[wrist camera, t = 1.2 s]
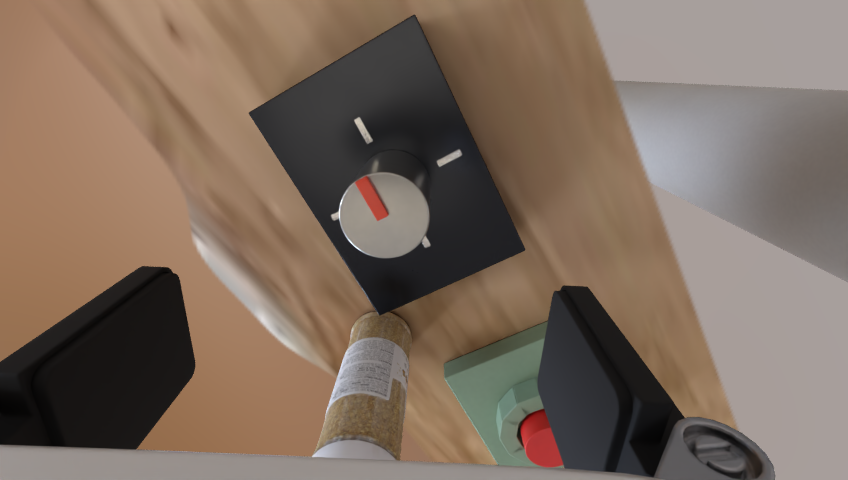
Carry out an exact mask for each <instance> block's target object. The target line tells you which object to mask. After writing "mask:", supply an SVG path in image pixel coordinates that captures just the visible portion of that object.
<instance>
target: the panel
mask: <svg viewBox="0 0 848 480" xmlns="http://www.w3.org/2000/svg"><path fill="white" fill-rule="evenodd" d="M249 115H250V116H251V118H252V119H253V121H254V122H255V124H256V125H257V127H258V128H259V130H260V132H261V133H262V135H263V136H264V138H265V139H266V141H267V142H268V144H269V146H270V147H271V149H272V150H273V152H274V153H275V155H276V156H277V158H278V159H279V161H280V163H281V164H282V166H283V167H284V169H285V170H286V172H287V173H288V175H289V177H290V178H291V180H292V181H293V183H294V184H295V186H296V187H297V189H298V190H299V192H300V194H301V195H302V197H303V198H304V200H305V201H306V203H307V204H308V206H309V208H310V209H311V211H312V212H313V214H314V215H315V217H316V218H317V220H318V221H319V223H320V225H321V226H322V228H323V229H324V231H325V232H326V234H327V235H328V237H329V238H330V240H331V242H332V243H333V245H334V246H335V248H336V249H337V251H338V252H339V254H340V256H341V257H342V259H343V260H344V262H345V263H346V265H347V266H348V268H349V269H350V271H351V273H352V274H353V276H354V277H355V279H356V280H357V282H358V283H359V285H360V287H361V288H362V290H363V291H364V293H365V294H366V296H367V297H368V299H369V300H370V302H371V304H372V305H373V307H374V308H375V310H376V311H377V313H378V314H379V316H380V315H383V314H385V313H387V312H389V311H392V310H394V309H396V308H398V307H400V306H403V305H405V304H407V303H409V302H412V301H414V300H416V299H418V298H420V297H423V296H425V295H427V294H429V293H432V292H434V291H436V290H438V289H440V288H443V287H445V286H447V285H449V284H452V283H454V282H456V281H458V280H460V279H463V278H465V277H467V276H469V275H472V274H474V273H476V272H478V271H480V270H483V269H485V268H487V267H489V266H492V265H494V264H496V263H498V262H500V261H503V260H505V259H507V258H509V257H512V256H514V255H516V254H518V253H521V252H523V251H525V248H524V245H523V243H522V241H521V239H520V237H519V235H518V233H517V231H516V228H515V226H514V224H513V222H512V220H511V218H510V216H509V214H508V211H507V209H506V207H505V205H504V203H503V201H502V199H501V196H500V194H499V192H498V190H497V188H496V186H495V184H494V182H493V179H492V177H491V175H490V173H489V171H488V169H487V167H486V165H485V162H484V160H483V158H482V156H481V154H480V152H479V150H478V147H477V145H476V143H475V141H474V139H473V137H472V135H471V133H470V130H469V128H468V126H467V124H466V122H465V120H464V118H463V116H462V113H461V111H460V109H459V107H458V105H457V103H456V101H455V98H454V96H453V94H452V92H451V90H450V88H449V86H448V84H447V81H446V79H445V77H444V75H443V73H442V71H441V69H440V67H439V64H438V62H437V60H436V58H435V56H434V54H433V52H432V49H431V47H430V45H429V43H428V41H427V39H426V37H425V35H424V32H423V30H422V28H421V26H420V24H419V22H418V20H417V17H416V15H413V16H411V17H409V18H407V19H406V20H404V21H402V22H401V23H399V24H397V25H396V26H394V27H392V28H391V29H389V30H387V31H386V32H384V33H382V34H380V35H379V36H377V37H375V38H374V39H372V40H370V41H369V42H367V43H365V44H364V45H362V46H360V47H359V48H357V49H355V50H353V51H352V52H350V53H348V54H347V55H345V56H343V57H342V58H340V59H338V60H337V61H335V62H333V63H332V64H330V65H328V66H327V67H325V68H323V69H321V70H320V71H318V72H316V73H315V74H313V75H311V76H310V77H308V78H306V79H305V80H303V81H301V82H300V83H298V84H296V85H294V86H293V87H291V88H289V89H288V90H286V91H284V92H283V93H281V94H279V95H278V96H276V97H274V98H273V99H271V100H269V101H268V102H266V103H264V104H262V105H261V106H259V107H257V108H256V109H254V110H252V111H251V112H249ZM388 150H399V151H404V152H406V153H409V154H411V155H413V156H414V157H416V158H417V159H418V160H419V161H420V162H421V163H422V164H423V165H424V167H425V169H426V170H427V173H428V175H429V178H430V222H429V227H428V230H427V233H426V235H425V237H424V239H423V240H422V241H421V243H420V244H419V245H418V246H417V247H416V248H415V249H413V250H412V251H410V252H409V253H407V254H404V255H402V256H399V257H395V258H378V257H373V256H370V255H367V254H365V253H363V252H362V251H360V250H358V249H357V248H356V247H355V246H353V245H352V243H351V242H350V241H349V240H348V239H347V237H346V236H345V234H344V232H343V230H342V228H341V225H340V220H339V207H340V202H341V199H342V197H343V195H344V193H345V191H346V190H347V188H348V187H349V185H350V184H351V183H352V181H353V180H354V179H355V177H356V176H357V175H358V173H359V172H360V170H361V169H362V168H363V166H364V165H365V164H366V162H367V161H368V160H369V159H370V158H372V157H373V156H374V155H376V154H378V153H380V152H383V151H388Z"/></svg>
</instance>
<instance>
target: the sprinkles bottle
mask: <svg viewBox="0 0 848 480" xmlns="http://www.w3.org/2000/svg"><path fill="white" fill-rule="evenodd" d="M350 337H351V340H350V343H349V346H348V350H347V351H346V353H345V355H344V358H343V361H342V365H341V368H340V371H339V374H338V377H337V380H336V383H335V387H334V390H333V392H332V396H331V399H330V402H329V405H328V408H327V411H326V415H325V422H324V426H323V429H322V433H321V436H320V439H319V442H318V445H317V448H316V450H315V452H314V454H313V455H312V457H328V458H352V459H376V460H400V452H401V441H402V432H403V423H404V418H405V409H406V397H407V386H408V374H409V352H410V348H411V344H412V335H411V331H410V328H409V326H408V325H407V324H406V322H405V321H404V320H402V319H401V318H400V317H398V316H397V315H395V314H392V313H390V312H387V313H385V314H383V315H380V316H379V314H378V313H377V311H375V312H370V313H367V314H365V315H363V316H362V317H360V318H359V319H358V320H357V321H356V322H355V324H354V325H353V327H352V330H351V336H350Z"/></svg>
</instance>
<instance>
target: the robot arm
mask: <svg viewBox="0 0 848 480" xmlns="http://www.w3.org/2000/svg"><path fill="white" fill-rule="evenodd" d="M194 370H195V358H194V353H193V348H192V343H191V337H190V332H189V327H188V321H187V316H186V311H185V306H184V300H183V295H182V290H181V284H180V280H179V277H178V275H177V274H174V273H173V272H172V271H171V269H169V268H167V267H148V266H142V267H140V268H138V269H137V270H135V271H134V272H132V273H131V274H129V275H128V276H126V277H125V278H124V279H122V280H121V281H119V282H118V283H116V284H114V285H113V286H112V287H110V288H109V289H107V290H106V291H104V292H103V293H101V294H100V295H98V296H97V297H95V298H94V299H92V300H91V301H90V302H88V303H86V304H85V305H83V306H82V307H81V308H79V309H78V310H76V311H75V312H73V313H72V314H70V315H69V316H67V317H66V318H64V319H63V320H61V321H60V322H58V323H57V324H55V325H54V326H53V327H51V328H50V329H48V330H47V331H45V332H44V333H42V334H41V335H39V336H38V337H36V338H35V339H33V340H32V341H30V342H29V343H27V344H26V345H24V346H23V347H21V348H20V349H19V350H17V351H16V352H14V353H13V354H11V355H10V356H8V357H7V358H5V359H4V360H2V361H1V362H0V480H775V472H774V467H773V464H772V463H771V461H770V460H769V458H768V456H767V455H766V454H765V452H763V450H762V449H760V448H759V446H758V445H757V444H756V443H754V442H753V441H752V440H750V439H749V438H748V437H746V436H745V435H744V434H742V433H741V432H739V431H737V430H735V429H733V428H731V427H729V426H728V425H725V424H722V423H720V422H717V421H714V420H711V419H706V418H701V417H687V418H684V416H683V415H682V414H681V412H680V411H679V409H678V408H677V407H676V405H675V404H674V402H673V401H672V399H671V398H670V397H669V395H668V394H667V393H666V391H665V390H664V389H663V387H662V386H661V385H660V383H659V382H658V381H657V379H656V378H655V377H654V375H653V374H652V373H651V371H650V370H649V369H648V367H647V366H646V364H645V363H644V362H643V360H642V359H641V358H640V356H639V355H638V354H637V352H636V351H635V350H634V348H633V347H632V346H631V344H630V343H629V342H628V340H627V339H626V338H625V336H624V335H623V334H622V332H621V331H620V330H619V328H618V327H617V326H616V324H615V323H614V322H613V320H612V319H611V318H610V316H609V315H608V313H607V312H606V311H605V309H604V308H603V307H602V305H601V304H600V303H599V301H598V300H597V299H596V297H595V296H594V295H593V293H592V292H591V291H590V289H589V288H588V287H583V286H563V287H562V288H561V290H560V291H555V292H554V293H553V297H552V302H551V307H550V313H549V318H548V324H547V329H546V335H545V340H544V345H543V351H542V356H541V362H540V367H539V373H538V379H537V386H538V392H539V395H540V398H541V401H542V404H543V407H544V410H545V413H546V416H547V418H548V421H549V424H550V427H551V430H552V433H553V436H554V439H555V442H556V444H557V447H558V450H559V453H560V456H561V459H562V462H563V465H564V468H550V467H529V466H508V465H486V464H465V463H444V462H423V461H400V460H376V459H352V458H328V457H303V456H278V455H256V454H254V455H253V454H231V453H230V454H229V453H208V452H184V451H183V452H182V451H159V450H136V449H137V448H138V446H139V445H140V444H141V442H142V441H143V440H144V438H145V437H146V436H147V435H148V433H149V432H150V431H151V429H152V428H153V427H154V426H155V424H156V423H157V422H158V420H159V419H160V418H161V416H162V415H163V414H164V412H165V411H166V410H167V409H168V408H169V406H170V405H171V403H172V402H173V401H174V400H175V398H176V397H177V396H178V395H179V393H180V392H181V391H182V389H183V388H184V387H185V385H186V384H187V383H188V382H189V380H190V379H191V378H192V376H193V374H194Z"/></svg>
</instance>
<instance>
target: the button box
mask: <svg viewBox="0 0 848 480" xmlns="http://www.w3.org/2000/svg"><path fill="white" fill-rule="evenodd" d="M547 324H548V321H547V322H544V323H542V324H539V325H537V326H534V327H532V328H530V329H527V330H525V331H522V332H520V333H517V334H515V335H513V336H510V337H508V338H505V339H503V340H500V341H498V342H496V343H493V344H491V345H488V346H486V347H483V348H481V349H479V350H476V351H474V352H471V353H469V354H466V355H464V356H462V357H459V358H457V359H454V360H452V361H449V362H447V363H445V364H444V378H445V380H446V382H447V383H448V385H449V387H450V388H451V390H452V392H453V393H454V395H455V396H456V398H457V400H458V401H459V403H460V404H461V406H462V408H463V409H464V411H465V413H466V414H467V416H468V417H469V419H470V421H471V422H472V424H473V425H474V427H475V429H476V430H477V432H478V434H479V435H480V437H481V438H482V440H483V442H484V443H485V445H486V446H487V448H488V450H489V451H490V453H491V454H492V456H493V458H494V459H495V461H496V463H497V464H498V465H508V466H529V467H542V466H539V465H536V464H534V463H533V462H532V461H530V460H529V458H528V457H527V455H526V452H525V449H524V444H523V440H522V436H521V432H520V427H521V424H522V421H523V420H524V418H525V417H526V416H527V415H529V414H530V413H532V412H535V411H538V410H540V409H544V407H543V404H542V401H541V398H540V395H539V392H538V386H537V379H538V373H539V367H540V362H541V356H542V351H543V345H544V340H545V335H546V329H547ZM563 467H564V465H562V466H558V467H550V468H563Z"/></svg>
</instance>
